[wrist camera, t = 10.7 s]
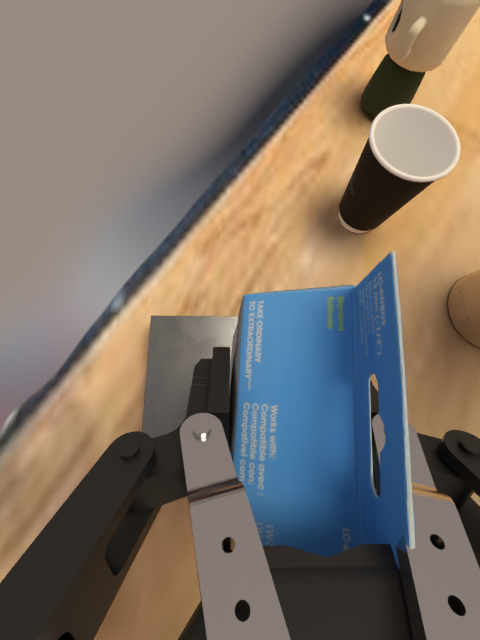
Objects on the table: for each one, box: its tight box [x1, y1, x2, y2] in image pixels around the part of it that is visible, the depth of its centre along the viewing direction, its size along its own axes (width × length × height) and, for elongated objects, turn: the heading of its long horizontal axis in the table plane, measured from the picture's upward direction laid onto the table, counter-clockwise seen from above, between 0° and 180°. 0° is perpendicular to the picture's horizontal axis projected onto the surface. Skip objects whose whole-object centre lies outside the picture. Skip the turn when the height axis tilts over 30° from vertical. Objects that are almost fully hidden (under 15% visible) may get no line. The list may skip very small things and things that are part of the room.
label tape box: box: [229, 251, 415, 569], centre depth 12 cm, size 9×4×12 cm, turn 176°
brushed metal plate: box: [142, 316, 238, 438], centre depth 27 cm, size 18×14×4 cm
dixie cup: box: [338, 104, 460, 233], centre depth 29 cm, size 8×8×11 cm
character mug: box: [361, 0, 480, 117], centre depth 32 cm, size 11×7×13 cm, turn 141°
